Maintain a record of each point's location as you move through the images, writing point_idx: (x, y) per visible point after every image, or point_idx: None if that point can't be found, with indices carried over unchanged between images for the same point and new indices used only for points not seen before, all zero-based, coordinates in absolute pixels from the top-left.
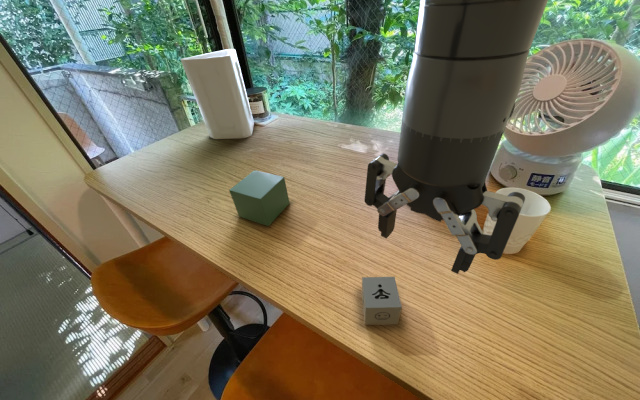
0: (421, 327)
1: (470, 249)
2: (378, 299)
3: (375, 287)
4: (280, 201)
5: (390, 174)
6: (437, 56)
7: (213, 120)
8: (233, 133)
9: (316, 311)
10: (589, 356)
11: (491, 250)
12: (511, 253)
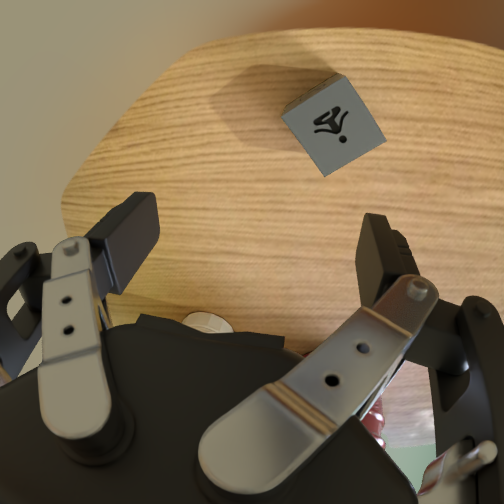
0: (248, 124)
1: (64, 246)
2: (330, 107)
3: (349, 130)
4: None
5: (426, 492)
6: None
7: None
8: None
9: (429, 54)
10: (86, 214)
11: (16, 259)
12: (188, 315)
